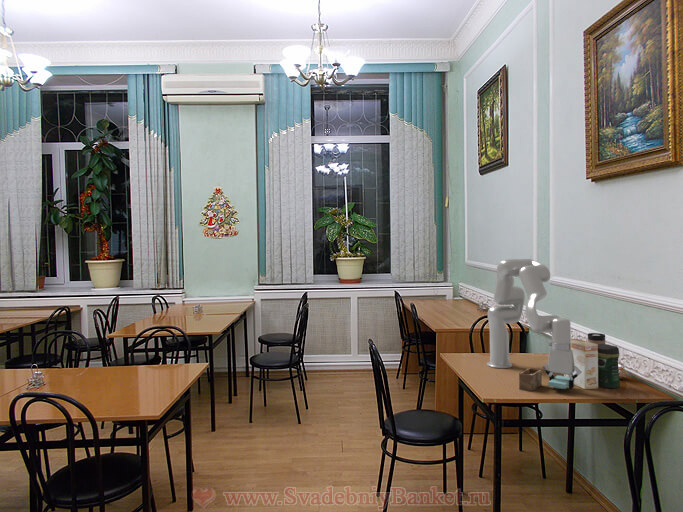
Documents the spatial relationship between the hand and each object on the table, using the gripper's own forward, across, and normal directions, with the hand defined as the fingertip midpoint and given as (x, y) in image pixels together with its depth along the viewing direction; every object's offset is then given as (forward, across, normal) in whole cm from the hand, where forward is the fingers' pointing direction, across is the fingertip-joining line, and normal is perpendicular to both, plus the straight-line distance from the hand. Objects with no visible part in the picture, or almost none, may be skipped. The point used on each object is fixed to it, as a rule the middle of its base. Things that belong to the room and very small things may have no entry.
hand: (561, 386), depth 216 cm
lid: (-1, 0, 0) cm, 1 cm away
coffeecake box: (+2, +4, +14) cm, 15 cm away
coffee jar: (+2, +14, +18) cm, 23 cm away
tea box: (+1, -12, -4) cm, 13 cm away
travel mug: (+2, +6, +34) cm, 35 cm away
